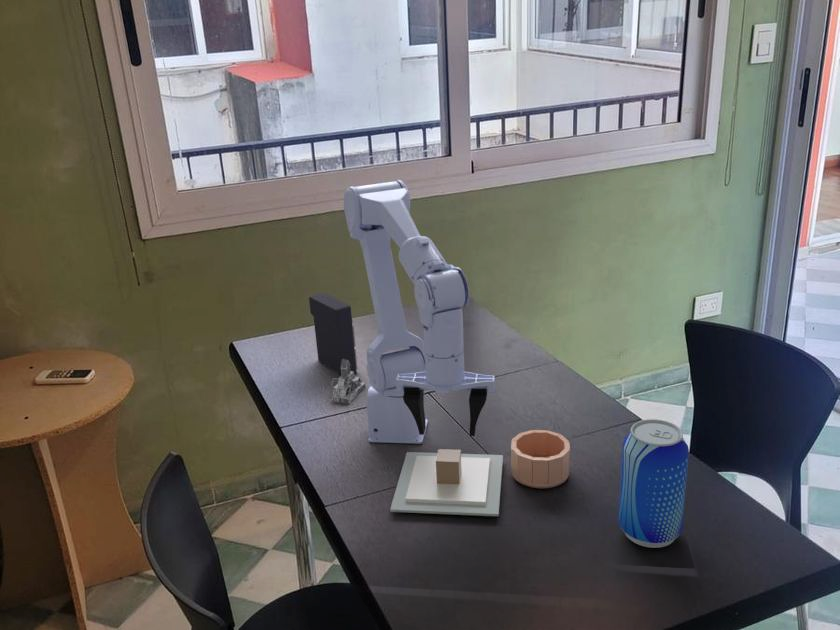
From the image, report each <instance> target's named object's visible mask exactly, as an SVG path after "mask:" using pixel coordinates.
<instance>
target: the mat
mask: <svg viewBox="0 0 840 630" xmlns="http://www.w3.org/2000/svg"><path fill="white" fill-rule="evenodd" d="M437 453H438V452H421V451H420V452H418V451H417V452H415V451H414V452H413V451H407V452H406V454H405V456H404V457H405V458H404V461H403V464H402V468H401V471H400V475H399V478H398V481H397V484H396V488H395V492H394V495H393V497H392V502H391V506H390V510H389V511H390V513H391V512H392V513H393V512H394V513H410V514H411V513H413V514H414V513H416V514H432V515H433V514H435V515H436V514H437V515H438V514H439V515H460V516H477V517H478V516H479V517H480V516H481V517H499V516H500V502H501V489H502V477H503V463H504V455H503V454H479V453H476V454H474V453H461V457H471V458H490V467H489V477H488V487H487V496H486V505H465V504H441V503H418V502H406V501H405V498H406V494H407V491H408V487H409V483H410V479H411V476H412V472H413V468H414V464H415V461H416V457H417V456H437Z"/></svg>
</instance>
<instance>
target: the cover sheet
mask: <svg viewBox="0 0 840 630" xmlns="http://www.w3.org/2000/svg"><path fill="white" fill-rule="evenodd" d="M436 453H437V456H417V457H416V461H415V464H414V468H413V472H412V476H411V479H410V483H409V487H408V491H407V494H406V498H405V501H406V502H418V503H441V504H465V505H486V496H487V487H488V477H489V467H490V458H471V457H461V454H462V451H461V449H448V448H447V449H446V448H444V449H443V448H438V450H437V452H436Z"/></svg>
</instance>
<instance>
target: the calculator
mask: <svg viewBox="0 0 840 630" xmlns="http://www.w3.org/2000/svg"><path fill="white" fill-rule="evenodd" d="M308 297H309V298H308V301H309V310H310V311H309V312H310V314H311V316H313V324H314V332H315V333H314V334H315V342H316V350H317V351H316V353H317V361H318V362H320V363H321V364H322V365H324V366H326V367H327V368H329V369H331V370H332V371H334V372H336V373H337V374H339V375H340V376H342V373H341V363H342V359H344V360H348V361H349V363H350V371H351V372H354V374H357V373H358V372H357V370H358V356H357V350H356V348H355V347H356V336H355V326H354V325H353V324H354V321H353V312H352V306H351V305H349V304H347V303H345V302H343V301H341V300H339V299H337V298H335V297H334V296H331V295H329V294H327V293H325V292H322V293H319V294H315V295H311V296H308Z"/></svg>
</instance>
